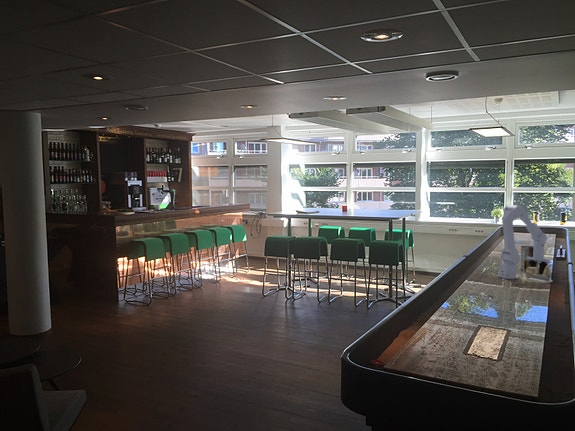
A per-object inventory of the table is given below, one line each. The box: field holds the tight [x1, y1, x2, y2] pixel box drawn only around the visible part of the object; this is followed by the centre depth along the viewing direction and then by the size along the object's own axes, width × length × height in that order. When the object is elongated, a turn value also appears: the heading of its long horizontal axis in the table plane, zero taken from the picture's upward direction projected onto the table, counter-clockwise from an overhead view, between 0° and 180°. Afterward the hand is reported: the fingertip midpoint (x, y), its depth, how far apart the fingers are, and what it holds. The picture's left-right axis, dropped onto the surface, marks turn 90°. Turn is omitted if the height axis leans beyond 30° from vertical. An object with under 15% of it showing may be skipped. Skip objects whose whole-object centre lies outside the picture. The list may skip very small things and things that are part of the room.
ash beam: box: [525, 265, 550, 278], centre depth 280 cm, size 16×4×6 cm, turn 115°
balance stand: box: [527, 274, 553, 284], centre depth 267 cm, size 8×10×3 cm
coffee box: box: [519, 245, 539, 272], centre depth 299 cm, size 9×6×16 cm
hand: (537, 273), depth 280 cm, fingers open, 4 cm apart
